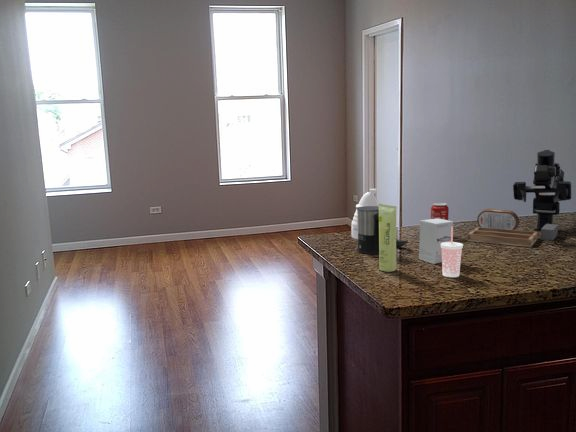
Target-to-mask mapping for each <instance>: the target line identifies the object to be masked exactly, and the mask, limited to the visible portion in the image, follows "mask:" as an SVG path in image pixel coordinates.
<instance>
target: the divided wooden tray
mask: <svg viewBox="0 0 576 432" xmlns="http://www.w3.org/2000/svg"><path fill="white" fill-rule="evenodd" d="M538 239H539V232H538V231H530V230H519V229H515V230H508V229H496V228H484V227H479V226H477V227H476V228H474V229H473V230H471V231H470V232H469V233H467V242H475V243H486V244H494V245H495V244H496V245H504V246H505V245H507V246H517V247H525V248H526V247H527V248H531V247H532V246H533V245H534V244H535V243H536V242H537V240H538Z"/></svg>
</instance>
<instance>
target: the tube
mask: <svg viewBox="0 0 576 432" xmlns="http://www.w3.org/2000/svg"><path fill="white" fill-rule="evenodd" d="M396 241H397V205H389V204H382V203H379V253H378V255H379V256H378V257H379V259H378V260H379V261H378V262H379V270H380V271H381V272H386V273H387V272H388V273H389V272H394V271H396V270H397V247H396Z"/></svg>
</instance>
